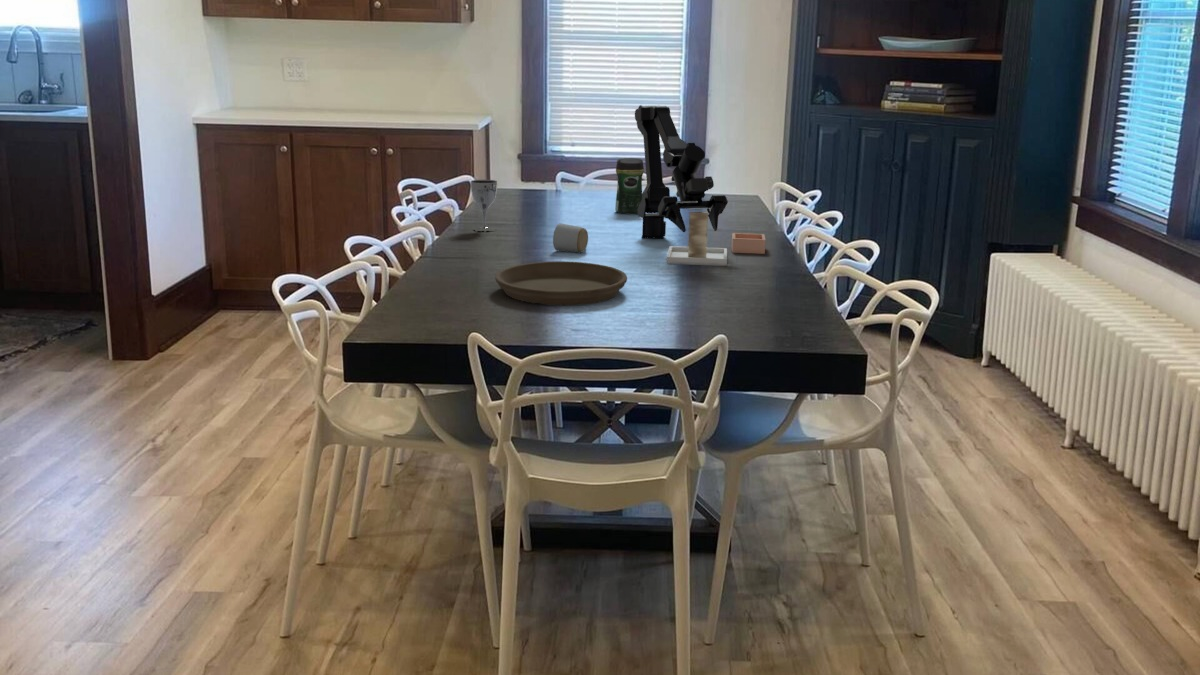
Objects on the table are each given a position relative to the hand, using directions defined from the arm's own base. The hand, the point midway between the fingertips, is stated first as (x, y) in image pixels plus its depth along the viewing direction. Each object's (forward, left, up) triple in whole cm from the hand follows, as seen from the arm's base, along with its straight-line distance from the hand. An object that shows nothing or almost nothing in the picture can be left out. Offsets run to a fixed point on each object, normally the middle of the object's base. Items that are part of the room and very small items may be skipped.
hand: (700, 230), depth 299 cm
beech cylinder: (-1, +1, -7) cm, 8 cm away
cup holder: (+13, +14, -8) cm, 21 cm away
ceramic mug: (-36, +7, -8) cm, 37 cm away
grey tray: (-1, +1, -8) cm, 8 cm away
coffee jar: (-26, +78, -8) cm, 83 cm away
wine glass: (-67, +34, -8) cm, 75 cm away
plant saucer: (-32, -45, -9) cm, 55 cm away
